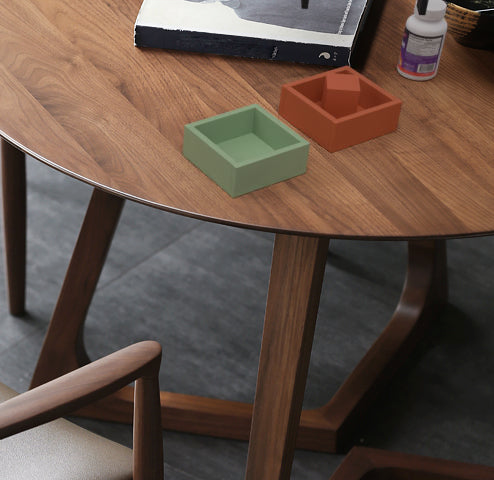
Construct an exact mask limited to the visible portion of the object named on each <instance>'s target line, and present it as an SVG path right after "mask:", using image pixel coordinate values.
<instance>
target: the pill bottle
mask: <svg viewBox="0 0 494 480" xmlns="http://www.w3.org/2000/svg"><path fill="white" fill-rule="evenodd" d="M416 5H417V0H416V1H415V4H414V8H413V14H411V15H410V16H408V18H407V20H406V22H405V25H404V32H403V35H402V41H401V46H400V49H399V51H400V52H399V56H398V59H397V65H396V69H397V72H398V74H399V75H401V76H402V77H404V78H406V79H408V80H412V81H419V82H421V81H423V82H424V81H428V80H431V79H433V78H434V77H436V75H437V73H438V69H439V66H440V61H441V56H442V53H443V48H444V46H445V44H444V43H445V39H446V36H447V32H448V23H447V20H446V19H445V15H446V12H447V6H448V4H447V3H446V2H445V1H444V0H429V1H428V6H427V10H426V15H419V13H418V9H417V6H416Z"/></svg>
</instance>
